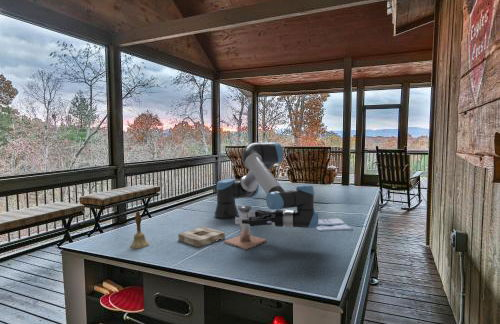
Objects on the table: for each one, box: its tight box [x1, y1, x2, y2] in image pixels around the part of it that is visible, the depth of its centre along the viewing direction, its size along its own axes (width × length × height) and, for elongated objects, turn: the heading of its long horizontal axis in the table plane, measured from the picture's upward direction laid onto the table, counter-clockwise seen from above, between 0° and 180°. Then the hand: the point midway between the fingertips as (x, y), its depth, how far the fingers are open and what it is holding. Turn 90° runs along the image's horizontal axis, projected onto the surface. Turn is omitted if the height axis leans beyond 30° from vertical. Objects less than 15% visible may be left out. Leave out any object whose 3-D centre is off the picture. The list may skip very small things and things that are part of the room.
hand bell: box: [129, 211, 150, 249], centre depth 140 cm, size 8×8×16 cm
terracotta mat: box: [223, 235, 267, 250], centre depth 142 cm, size 14×14×1 cm
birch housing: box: [177, 226, 226, 248], centre depth 148 cm, size 16×16×3 cm
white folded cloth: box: [316, 217, 354, 232], centre depth 168 cm, size 19×20×2 cm
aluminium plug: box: [237, 204, 253, 242], centre depth 142 cm, size 6×6×16 cm
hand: (238, 216), depth 142 cm, fingers open, 13 cm apart
